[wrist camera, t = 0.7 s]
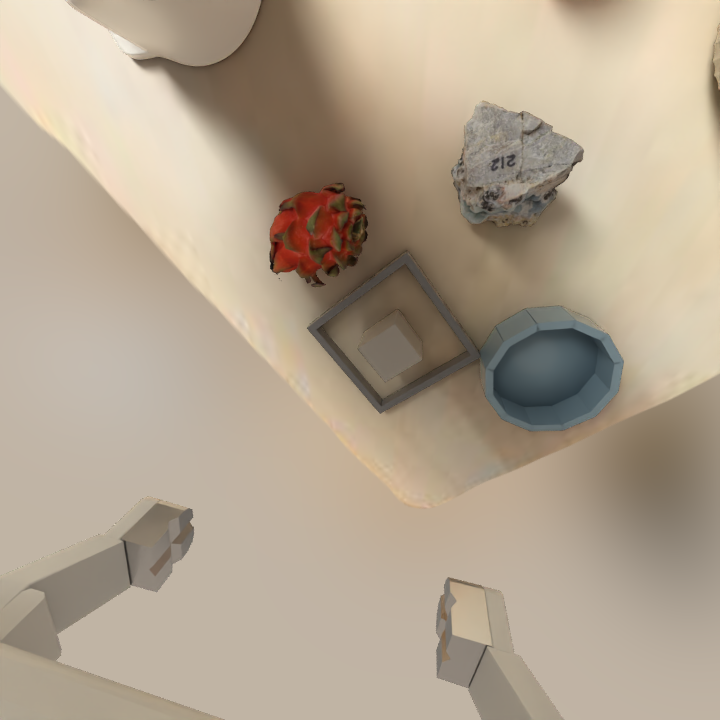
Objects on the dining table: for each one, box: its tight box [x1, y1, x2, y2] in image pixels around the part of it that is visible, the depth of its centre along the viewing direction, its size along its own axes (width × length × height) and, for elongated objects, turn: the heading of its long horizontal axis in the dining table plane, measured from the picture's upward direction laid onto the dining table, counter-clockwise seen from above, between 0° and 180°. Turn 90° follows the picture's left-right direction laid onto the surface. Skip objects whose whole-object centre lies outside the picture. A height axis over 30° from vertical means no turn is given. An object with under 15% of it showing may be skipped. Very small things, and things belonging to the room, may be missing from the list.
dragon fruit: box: [270, 183, 368, 287], centre depth 36 cm, size 8×8×12 cm
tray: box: [307, 250, 481, 413], centre depth 42 cm, size 14×14×2 cm
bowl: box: [480, 306, 624, 431], centre depth 39 cm, size 13×13×4 cm
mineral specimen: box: [451, 101, 584, 227], centre depth 32 cm, size 10×8×10 cm
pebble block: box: [358, 309, 423, 382], centre depth 41 cm, size 5×5×5 cm
